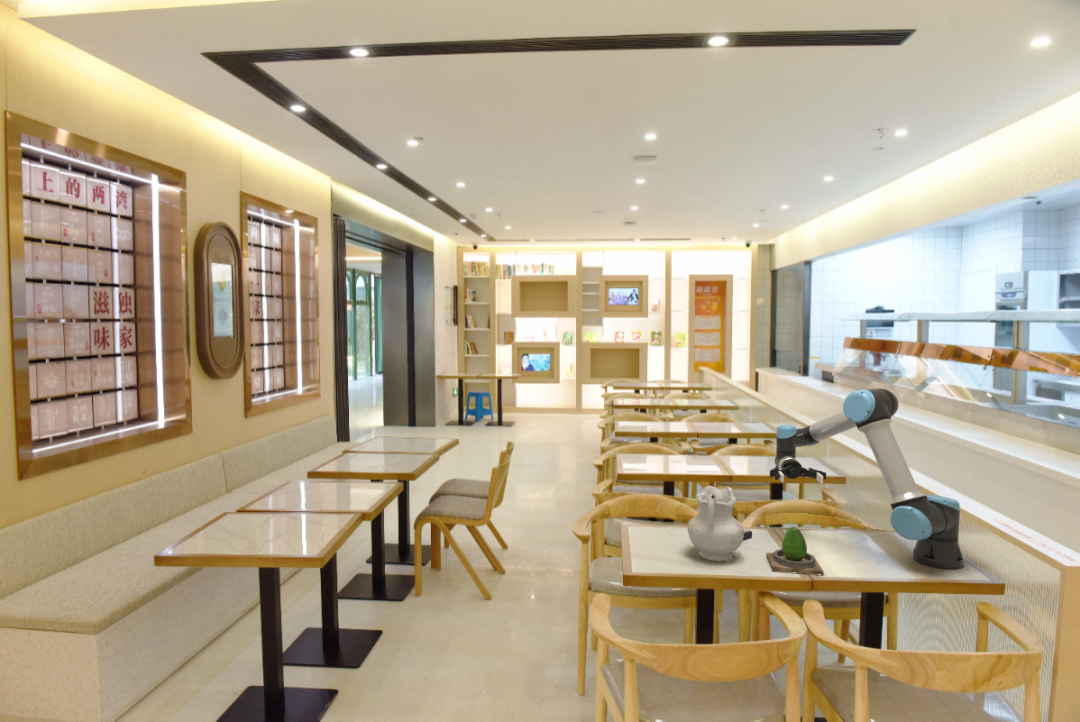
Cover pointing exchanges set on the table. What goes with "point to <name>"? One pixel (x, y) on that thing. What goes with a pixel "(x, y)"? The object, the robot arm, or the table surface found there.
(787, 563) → the ring stand
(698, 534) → the ceramic pitcher
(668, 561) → the table surface
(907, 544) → the table surface
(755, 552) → the table surface
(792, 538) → the avocado
